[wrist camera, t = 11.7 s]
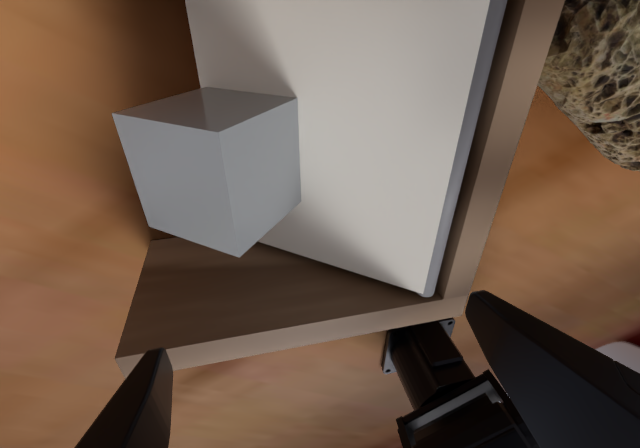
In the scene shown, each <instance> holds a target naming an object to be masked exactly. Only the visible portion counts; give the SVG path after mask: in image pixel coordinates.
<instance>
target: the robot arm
mask: <svg viewBox="0 0 640 448" xmlns="http://www.w3.org/2000/svg"><path fill="white" fill-rule="evenodd" d="M465 314H466V318H467V320H468V322H469V324H470V326H471V328H472V330H473V333H474V335H475V337H476V339H477V341H478V343H479V345H480V347H481V349H482V351H483V353H484V355H485V357H486V359H487V361H488V363H489V365H490V366H491V368H492V370H493V371H494V373H495V375H496V376H497V378H498V379H499V381H500V383H501V384H502V386H503V388H504V389H505V391H506V392H507V394H508V395H507V394H506V392H505V391H504V390H503V388H502V387H501V385H500V384H499V383H498V381H497V380H496V379H495V377H494V376H493V375H492V373H491V372H490V371H489V369H488V370H486V371H484V372H483V374H481V375H479V376H477V377H476V378H475V376H474V375H473V373H472V372H471V370H470V369H469V367H468V366H467V364H466V363H465V361H464V359H463V356H462V355H461V353H460V352H459V350H458V349H457V347H456V346H455V344H454V343H453V341H452V340H451V338H450V337H451V333H452V330H453V327H454V324H455V320H454V319H453V317H452V318H447V319H442V320H436V321H431V322H426V323H421V324H415V325H410V326H405V327H400V328H394V329H389V330H388V334H387V340H386V346H385V352H384V358H383V365H382V370H383V373H384V374H389V373H394V372H397V374H398V376H399V378H400V381H401V383H402V385H403V387H404V389H405V392H406V394H407V396H408V398H409V400H410V402H411V405H412V407H413V409H414V411H413V412H411V413H409V414H407V415H405V416H404V417H402V416H401V417H399V418H397V419H396V421H397V425H398V433H399V436H400V439H401V443H402V446H403V448H640V373H638V372H636V371H633V370H632V369H630V368H628V367H626V366H625V365H623V364H621V363H619V362H617V361H613V359H611V358H610V357H608V356H606V355H604V354H602V353H600V352H598V351H597V350H595V349H593V348H591V347H589V346H587V345H586V344H584V343H582V342H580V341H578V340H576V339H574V338H573V337H571V336H569V335H567V334H565V333H563V332H562V331H560V330H558V329H556V328H554V327H552V326H550V325H549V324H547V323H545V322H543V321H541V320H539V319H537V318H536V317H534V316H532V315H530V314H528V313H526V312H525V311H523V310H521V309H519V308H517V307H515V306H513V305H512V304H510V303H508V302H506V301H504V300H502V299H501V298H499V297H497V296H495V295H493V294H491V293H489V292H487V291H485V290H481V291H475V292H472V293H471V294H470V297H469V300H468V303H467V307H466V310H465ZM172 386H173V368H172V365H171V362H170V359H169V357H168V354H167V352H166V350H165V348H163V347H161V348H155V349H150V350H148V351H146V352H145V354H144V355H143V356H142V358H141V359H140V360H139V362H138V363H137V364H136V366H135V367H134V368H133V370H132V371H131V372H130V374H129V375H128V376H127V378H126V379H125V380H124V382H123V383H122V385H121V386H120V387H119V389H118V390H117V391H116V393H115V394H114V395H113V397H112V398H111V399H110V401H109V402H108V403H107V405H106V406H105V407H104V409H103V410H102V411H101V413H100V414H99V415H98V417H97V418H96V419H95V421H94V422H93V424H92V425H91V426H90V428H89V429H88V430H87V432H86V433H85V434H84V436H83V437H82V438H81V440H80V441H79V442H78V444H77V445H76V446H75V448H168V445H169V438H170V427H171V407H172ZM509 397H510V398H509ZM499 401H500V402H501V403H500V402H499Z"/></svg>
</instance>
